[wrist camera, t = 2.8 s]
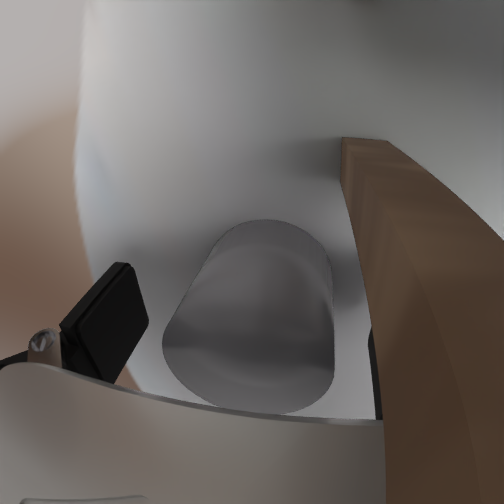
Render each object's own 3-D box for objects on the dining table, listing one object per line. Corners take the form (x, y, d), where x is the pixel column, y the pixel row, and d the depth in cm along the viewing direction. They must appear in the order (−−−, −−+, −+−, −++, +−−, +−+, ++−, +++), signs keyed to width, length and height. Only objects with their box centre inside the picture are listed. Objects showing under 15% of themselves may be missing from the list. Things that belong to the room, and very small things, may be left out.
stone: (337, 222, 11) (347, 308, 7) (325, 327, 14) (322, 420, 10) (202, 217, 12) (144, 291, 8) (215, 318, 15) (180, 402, 10)
